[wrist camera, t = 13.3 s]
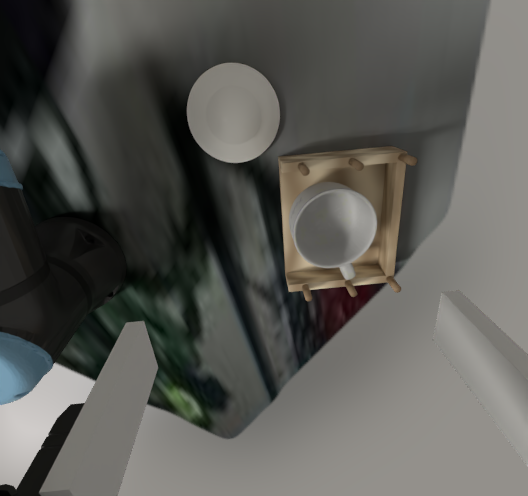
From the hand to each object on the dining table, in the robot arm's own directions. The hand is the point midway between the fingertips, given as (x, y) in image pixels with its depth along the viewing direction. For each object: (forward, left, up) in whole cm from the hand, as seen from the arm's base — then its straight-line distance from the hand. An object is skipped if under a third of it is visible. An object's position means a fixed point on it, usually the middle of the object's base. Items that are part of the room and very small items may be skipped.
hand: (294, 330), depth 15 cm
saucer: (-3, +7, -35) cm, 36 cm away
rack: (+10, -9, -35) cm, 37 cm away
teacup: (+9, -9, -34) cm, 36 cm away
